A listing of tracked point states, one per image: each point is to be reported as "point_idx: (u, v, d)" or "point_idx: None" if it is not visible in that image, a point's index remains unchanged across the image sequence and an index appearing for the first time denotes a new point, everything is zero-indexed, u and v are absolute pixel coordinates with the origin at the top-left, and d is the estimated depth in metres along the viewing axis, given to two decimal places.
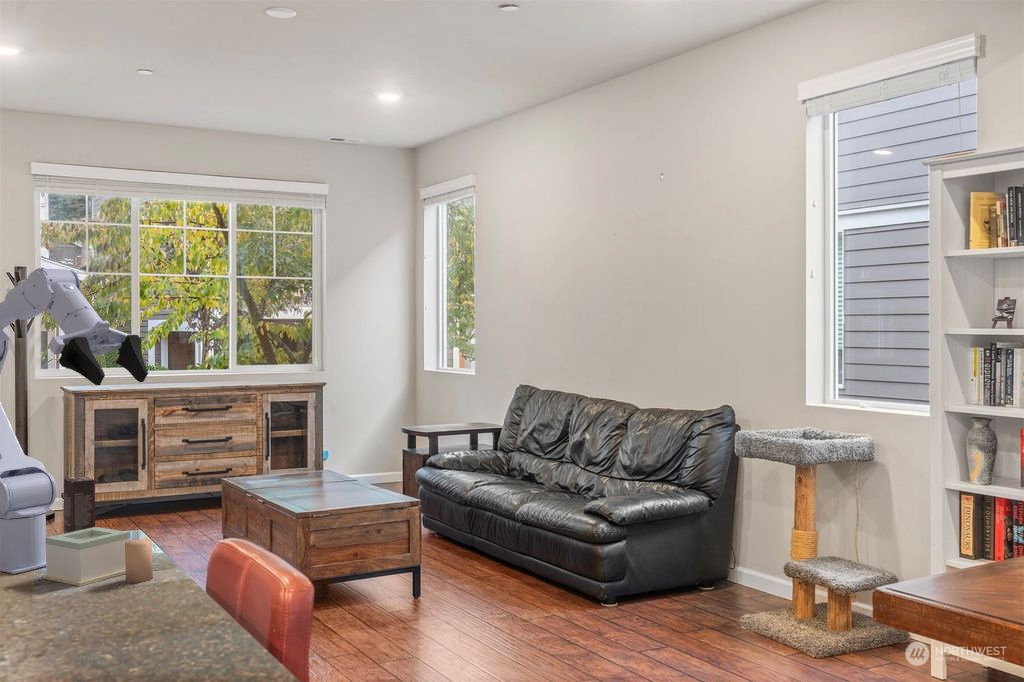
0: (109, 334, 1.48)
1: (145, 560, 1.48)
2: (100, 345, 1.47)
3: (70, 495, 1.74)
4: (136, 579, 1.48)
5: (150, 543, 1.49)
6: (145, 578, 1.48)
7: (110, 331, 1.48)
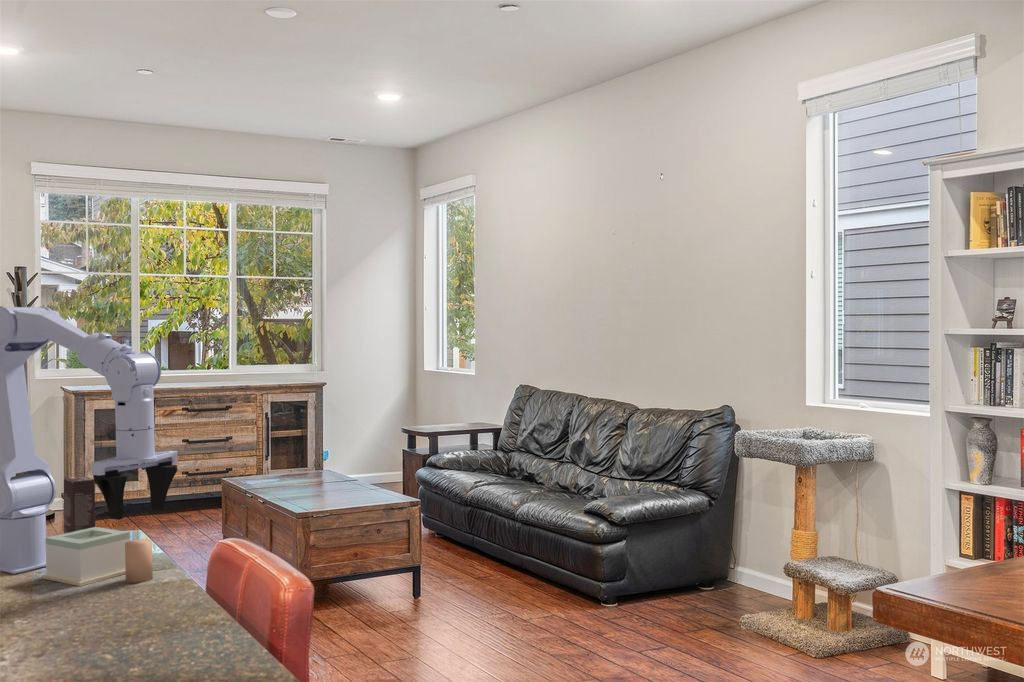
0: None
1: (145, 560, 1.48)
2: (138, 466, 1.49)
3: (70, 495, 1.74)
4: (136, 579, 1.48)
5: (150, 543, 1.49)
6: (145, 578, 1.48)
7: None
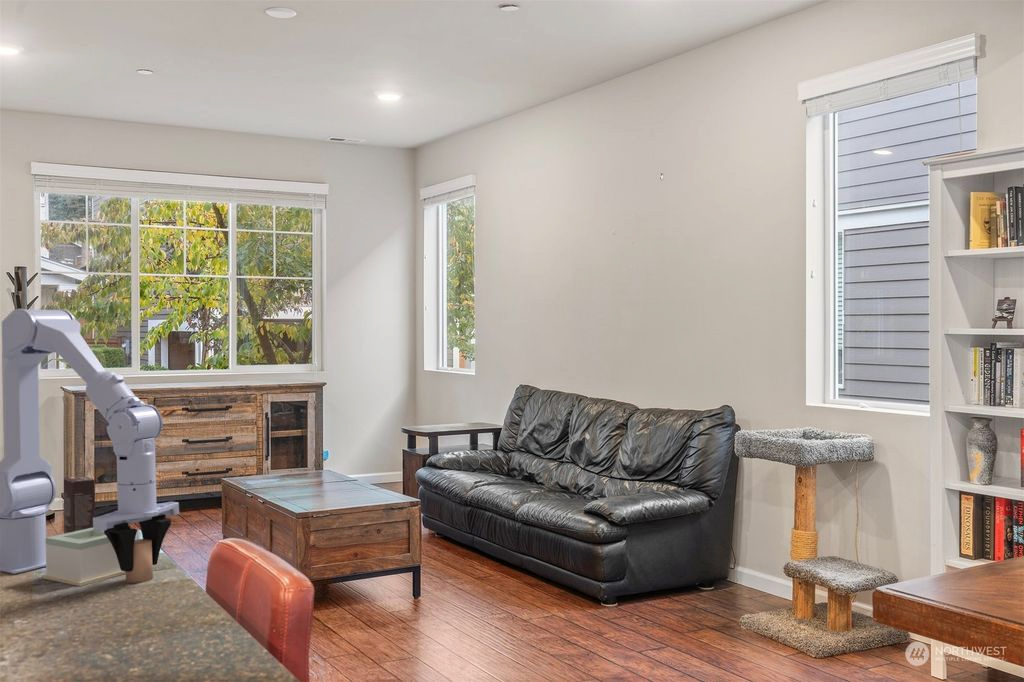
0: None
1: (145, 559, 1.48)
2: (140, 519, 1.49)
3: (70, 495, 1.74)
4: (136, 579, 1.48)
5: (150, 543, 1.49)
6: (145, 578, 1.48)
7: None
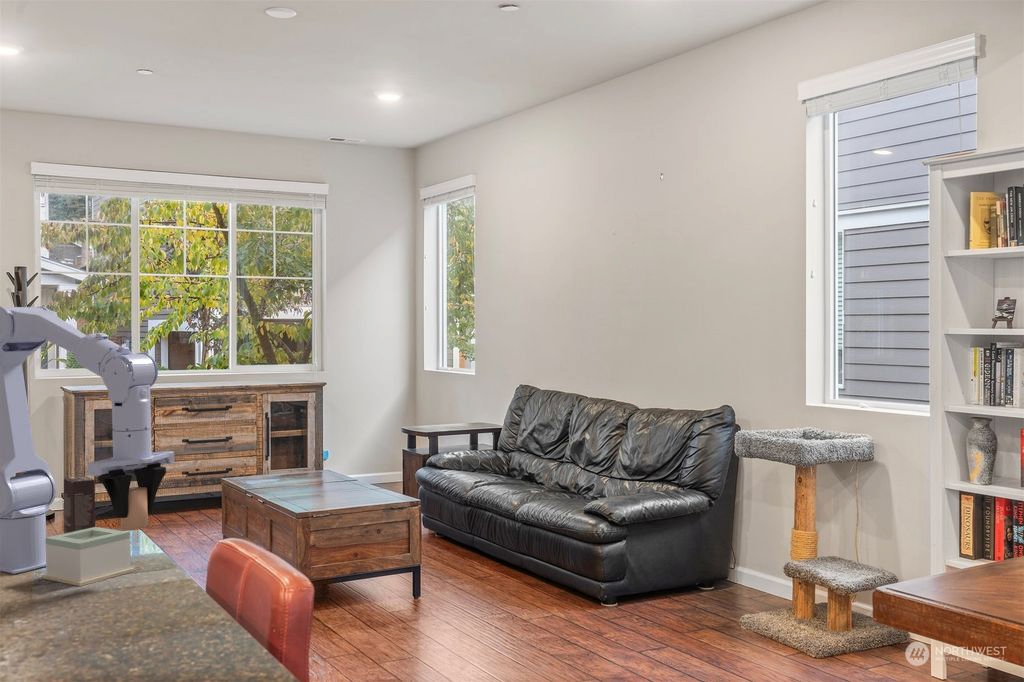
0: None
1: (140, 506, 1.48)
2: (135, 466, 1.50)
3: (70, 495, 1.74)
4: (131, 525, 1.48)
5: (145, 490, 1.49)
6: (140, 525, 1.48)
7: None
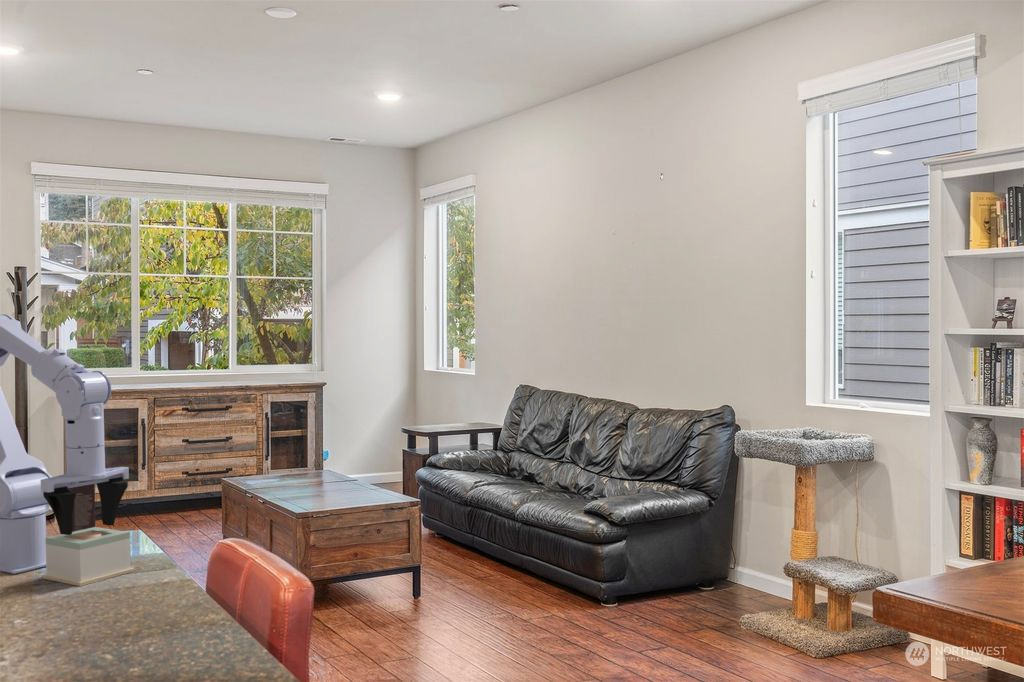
0: None
1: None
2: (89, 482, 1.53)
3: None
4: None
5: None
6: None
7: None
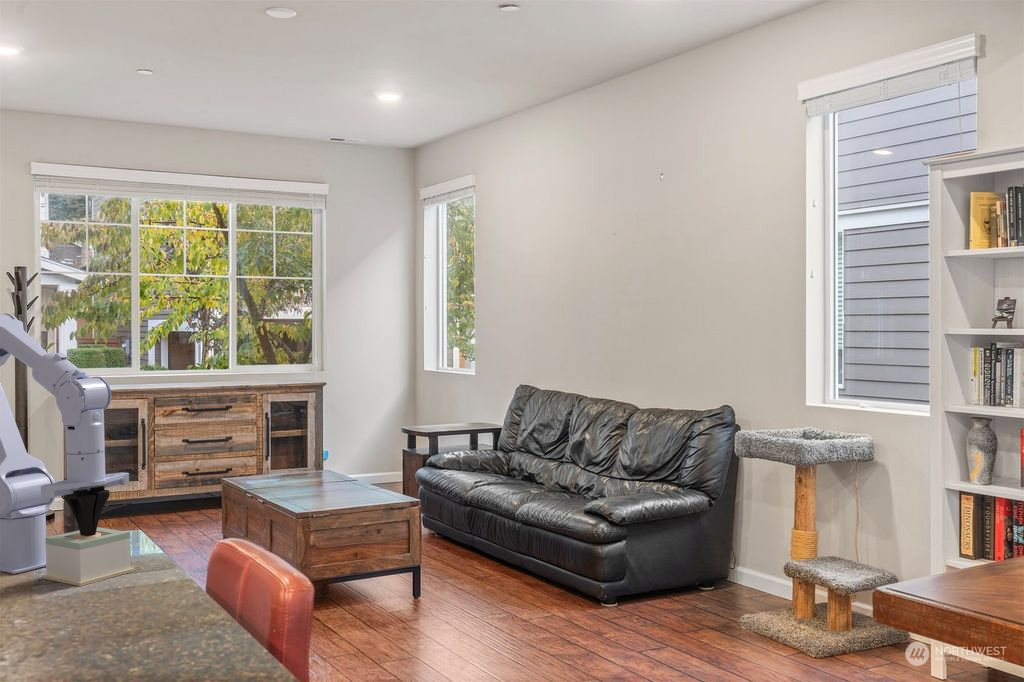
0: None
1: None
2: (89, 488, 1.53)
3: None
4: None
5: None
6: None
7: None
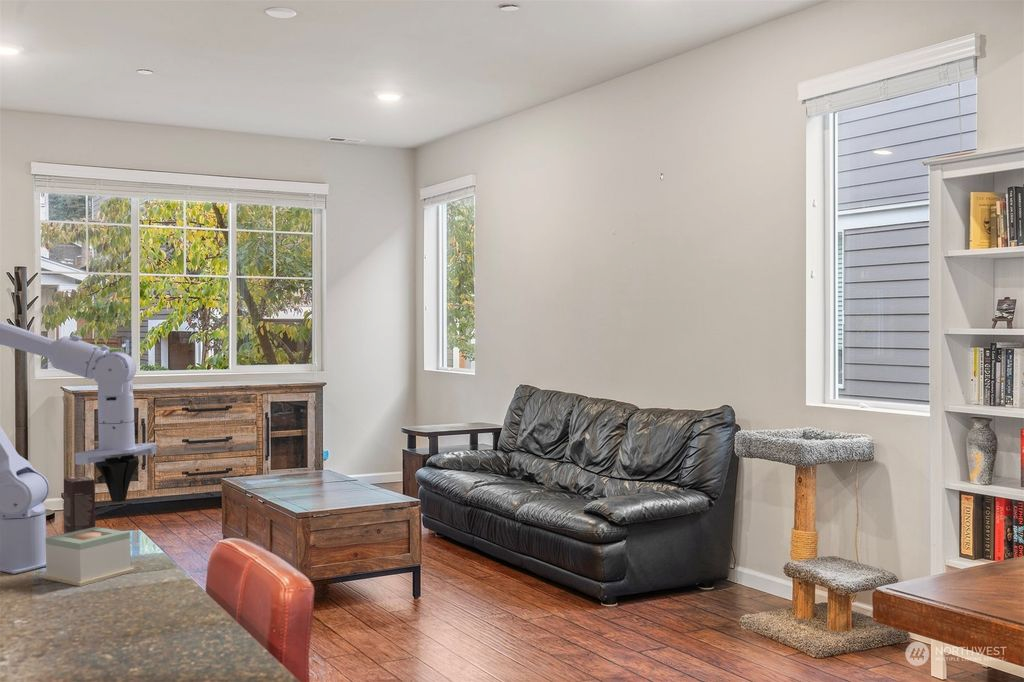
0: None
1: None
2: (119, 457, 1.61)
3: (70, 495, 1.74)
4: None
5: None
6: None
7: None
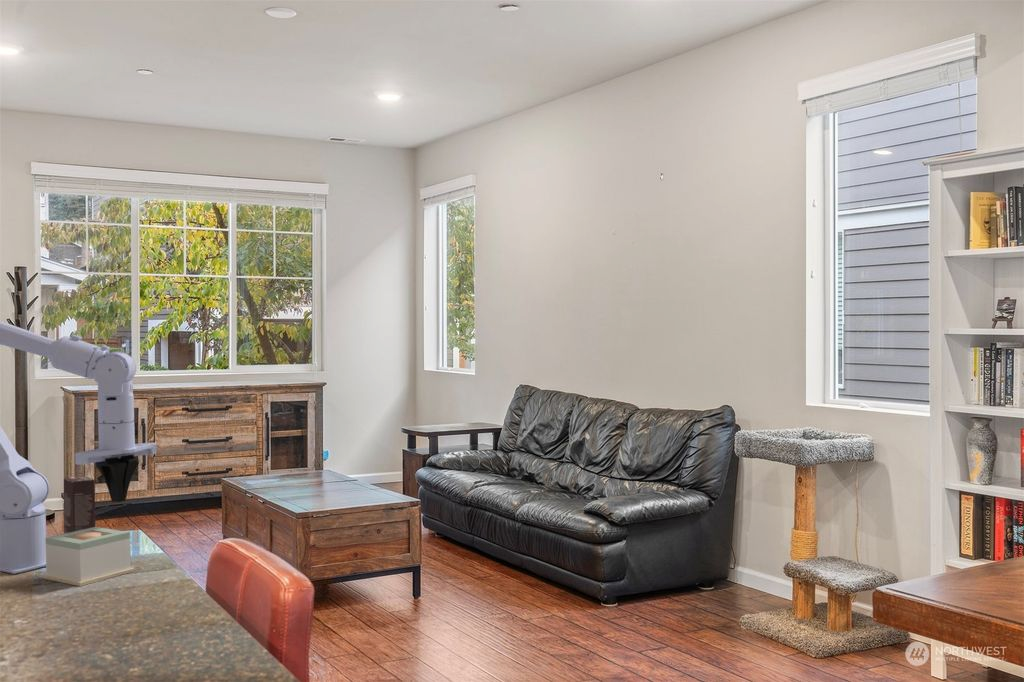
0: None
1: None
2: (119, 457, 1.61)
3: (70, 495, 1.74)
4: None
5: None
6: None
7: None
